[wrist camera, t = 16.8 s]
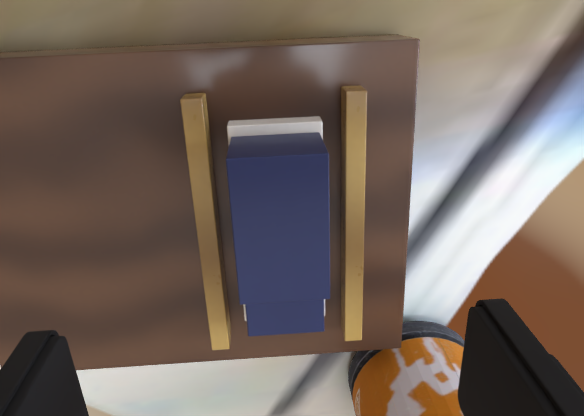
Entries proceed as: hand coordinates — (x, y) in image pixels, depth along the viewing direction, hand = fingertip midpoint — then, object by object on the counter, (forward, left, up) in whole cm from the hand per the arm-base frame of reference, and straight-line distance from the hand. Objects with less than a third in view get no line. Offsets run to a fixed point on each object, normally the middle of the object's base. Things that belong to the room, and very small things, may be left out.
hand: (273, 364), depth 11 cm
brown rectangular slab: (+3, -4, -19) cm, 19 cm away
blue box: (+3, 0, -15) cm, 15 cm away
